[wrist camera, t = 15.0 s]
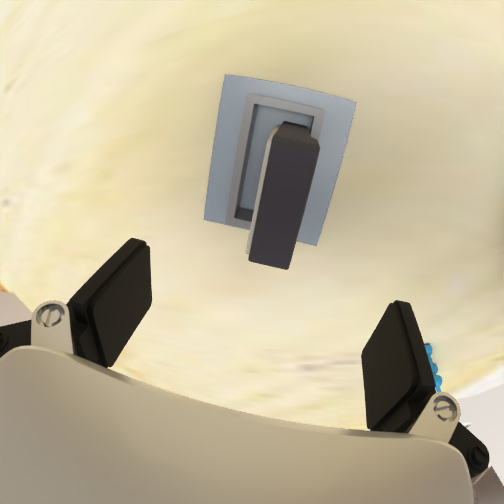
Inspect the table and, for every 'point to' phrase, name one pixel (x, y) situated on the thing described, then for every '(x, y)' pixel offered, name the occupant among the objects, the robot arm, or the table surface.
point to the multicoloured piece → (282, 194)
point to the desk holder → (254, 144)
